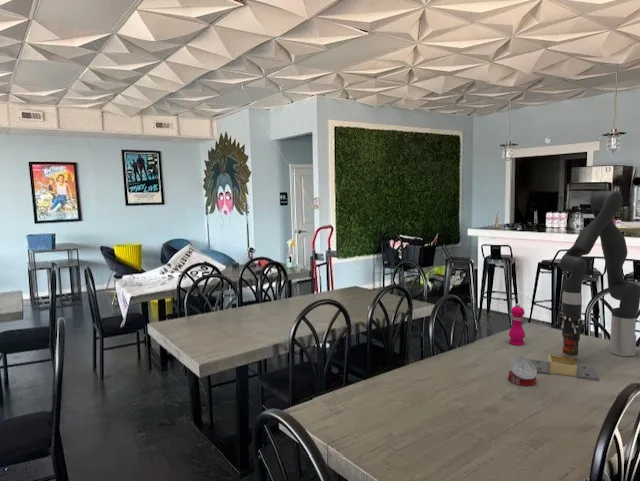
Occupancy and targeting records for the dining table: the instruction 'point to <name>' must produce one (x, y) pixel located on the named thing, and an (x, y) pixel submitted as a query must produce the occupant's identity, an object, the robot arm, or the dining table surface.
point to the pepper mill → (517, 326)
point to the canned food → (522, 372)
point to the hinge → (565, 367)
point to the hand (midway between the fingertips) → (570, 338)
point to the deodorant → (569, 339)
